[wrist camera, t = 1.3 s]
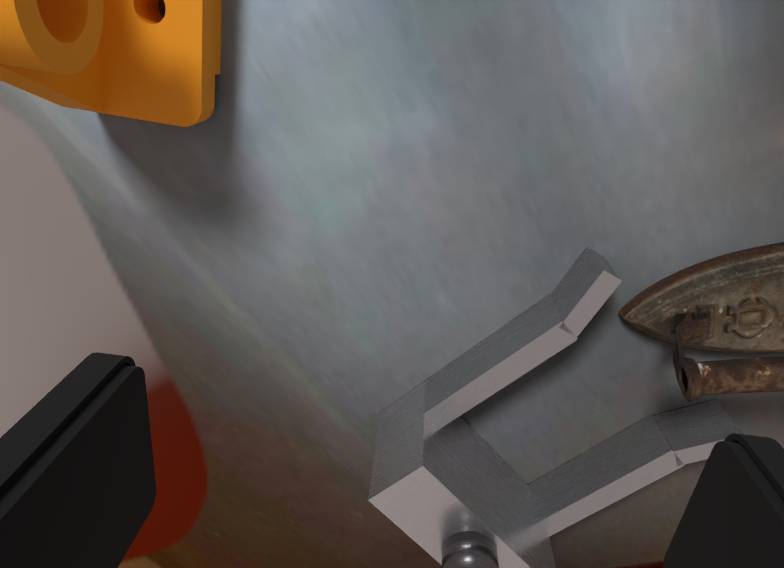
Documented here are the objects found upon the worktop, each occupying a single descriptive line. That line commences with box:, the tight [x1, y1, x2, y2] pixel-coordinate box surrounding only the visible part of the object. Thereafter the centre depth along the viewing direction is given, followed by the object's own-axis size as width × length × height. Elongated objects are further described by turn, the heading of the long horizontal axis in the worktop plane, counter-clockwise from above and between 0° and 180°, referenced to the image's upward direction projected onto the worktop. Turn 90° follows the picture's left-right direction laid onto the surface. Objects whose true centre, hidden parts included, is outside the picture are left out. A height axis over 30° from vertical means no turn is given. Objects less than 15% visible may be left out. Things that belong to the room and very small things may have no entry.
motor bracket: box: [368, 247, 743, 568], centre depth 32 cm, size 18×15×10 cm
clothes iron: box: [619, 242, 784, 402], centre depth 30 cm, size 7×11×10 cm, turn 100°
